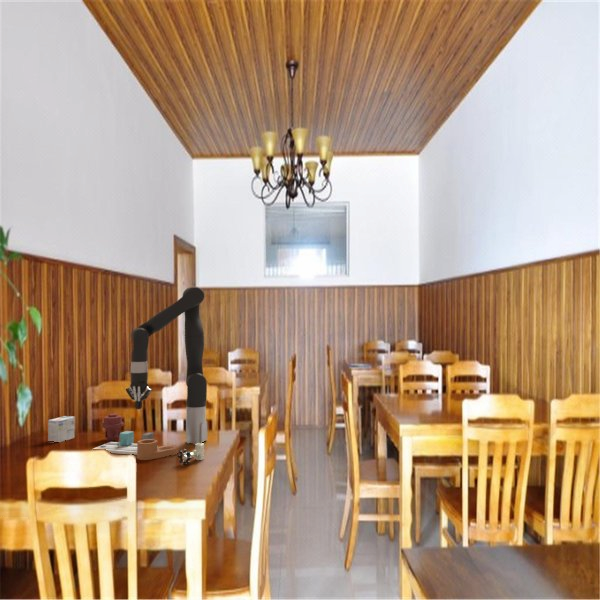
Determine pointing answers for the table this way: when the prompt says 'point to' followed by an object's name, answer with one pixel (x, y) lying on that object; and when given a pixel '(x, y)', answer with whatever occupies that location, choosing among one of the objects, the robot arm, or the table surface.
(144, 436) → the fixed leg
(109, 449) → the gauge board
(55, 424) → the light bulb box
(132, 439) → the sliding leg
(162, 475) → the table surface
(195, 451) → the valve
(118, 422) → the mechanical component
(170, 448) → the bracket
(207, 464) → the table surface
